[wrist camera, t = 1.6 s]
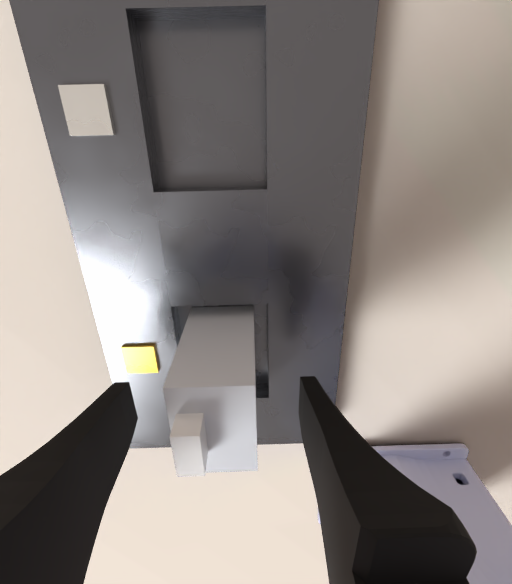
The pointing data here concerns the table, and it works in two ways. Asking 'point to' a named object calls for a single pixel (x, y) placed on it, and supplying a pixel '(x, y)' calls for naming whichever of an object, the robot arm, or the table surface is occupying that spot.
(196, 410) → the plug
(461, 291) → the table surface
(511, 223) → the table surface
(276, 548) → the table surface
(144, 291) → the panel
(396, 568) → the robot arm
